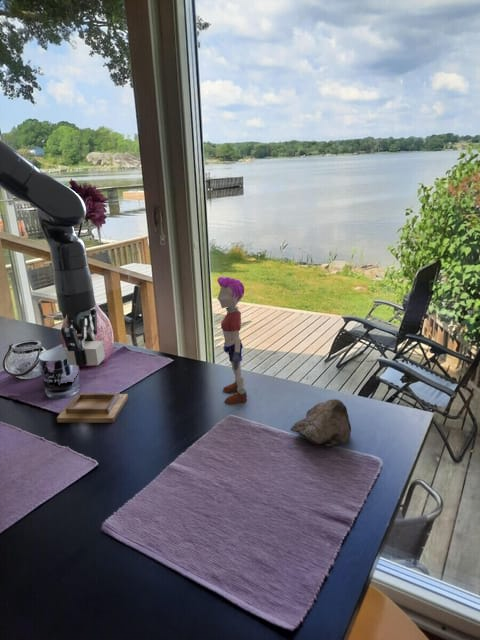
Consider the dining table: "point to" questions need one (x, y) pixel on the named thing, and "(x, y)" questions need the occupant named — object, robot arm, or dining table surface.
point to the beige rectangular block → (88, 353)
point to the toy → (232, 334)
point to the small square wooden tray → (93, 408)
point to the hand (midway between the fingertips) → (86, 359)
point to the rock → (325, 424)
